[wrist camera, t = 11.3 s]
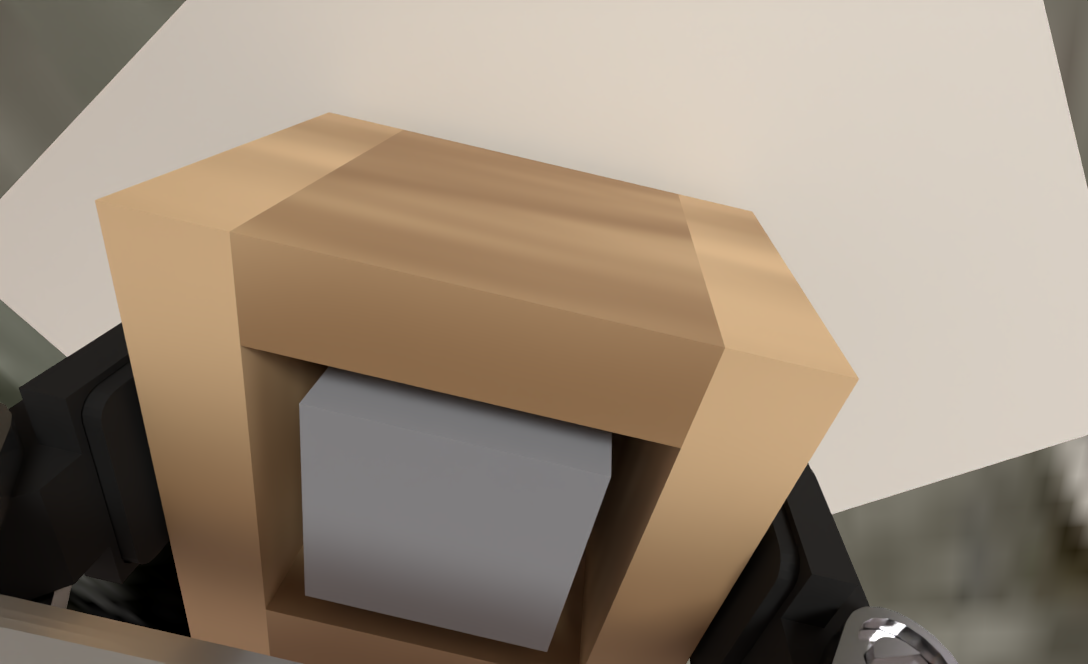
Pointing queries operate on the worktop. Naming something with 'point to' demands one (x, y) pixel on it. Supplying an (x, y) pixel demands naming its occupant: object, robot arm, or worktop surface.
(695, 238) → the collar
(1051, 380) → the base plate
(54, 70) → the worktop surface
